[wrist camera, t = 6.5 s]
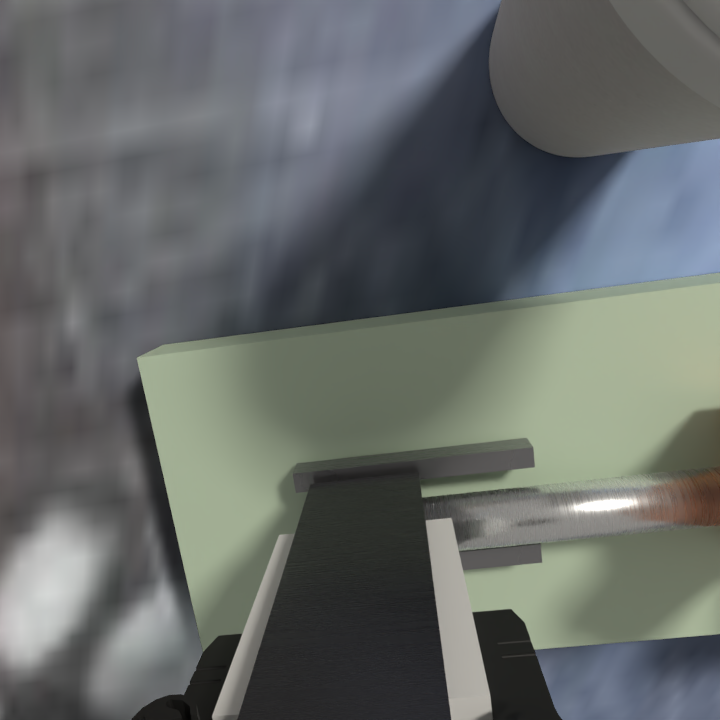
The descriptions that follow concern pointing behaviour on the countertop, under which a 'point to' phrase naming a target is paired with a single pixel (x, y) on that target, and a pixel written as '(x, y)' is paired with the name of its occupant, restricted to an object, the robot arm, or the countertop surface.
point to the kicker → (421, 581)
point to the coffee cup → (607, 73)
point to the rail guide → (436, 466)
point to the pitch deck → (458, 442)
